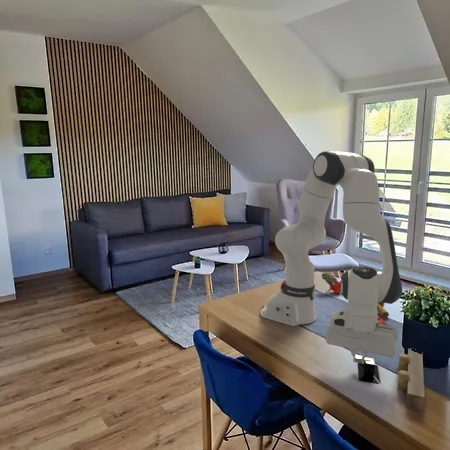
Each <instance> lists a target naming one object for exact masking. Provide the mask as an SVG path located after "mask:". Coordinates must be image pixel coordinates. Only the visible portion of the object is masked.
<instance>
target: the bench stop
mask: <svg viewBox="0 0 450 450" xmlns="http://www.w3.org/2000/svg"><path fill="white" fill-rule="evenodd" d="M411 349H412V348H410V349H409V347H408V349H407V354H406V353H400V354H399V360H398V366H397V367H398V368H397V370H398V376H397V385H396V389H397V391H398V392H401V393H406V405H405V406H406V408H409V409H414V410H417V411H422V412H424V407H425V398H426V397H425V383H424V382H425V379H424V363H423V362H424V361H423V353H422V354H419V353H417V352H414V351H412V350H411Z"/></svg>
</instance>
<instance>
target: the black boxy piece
mask: <svg viewBox="0 0 450 450" xmlns="http://www.w3.org/2000/svg"><path fill="white" fill-rule="evenodd" d="M356 364H357V375H358V382H362V383H369V384H375V385H382V384H381V383H382V382H381V378H380V374H379V373H380V372H379V367H378V365H376V364H375V358H373V357H367V356H366V357H365V358H364V362H363V364H361V363H356Z"/></svg>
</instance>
